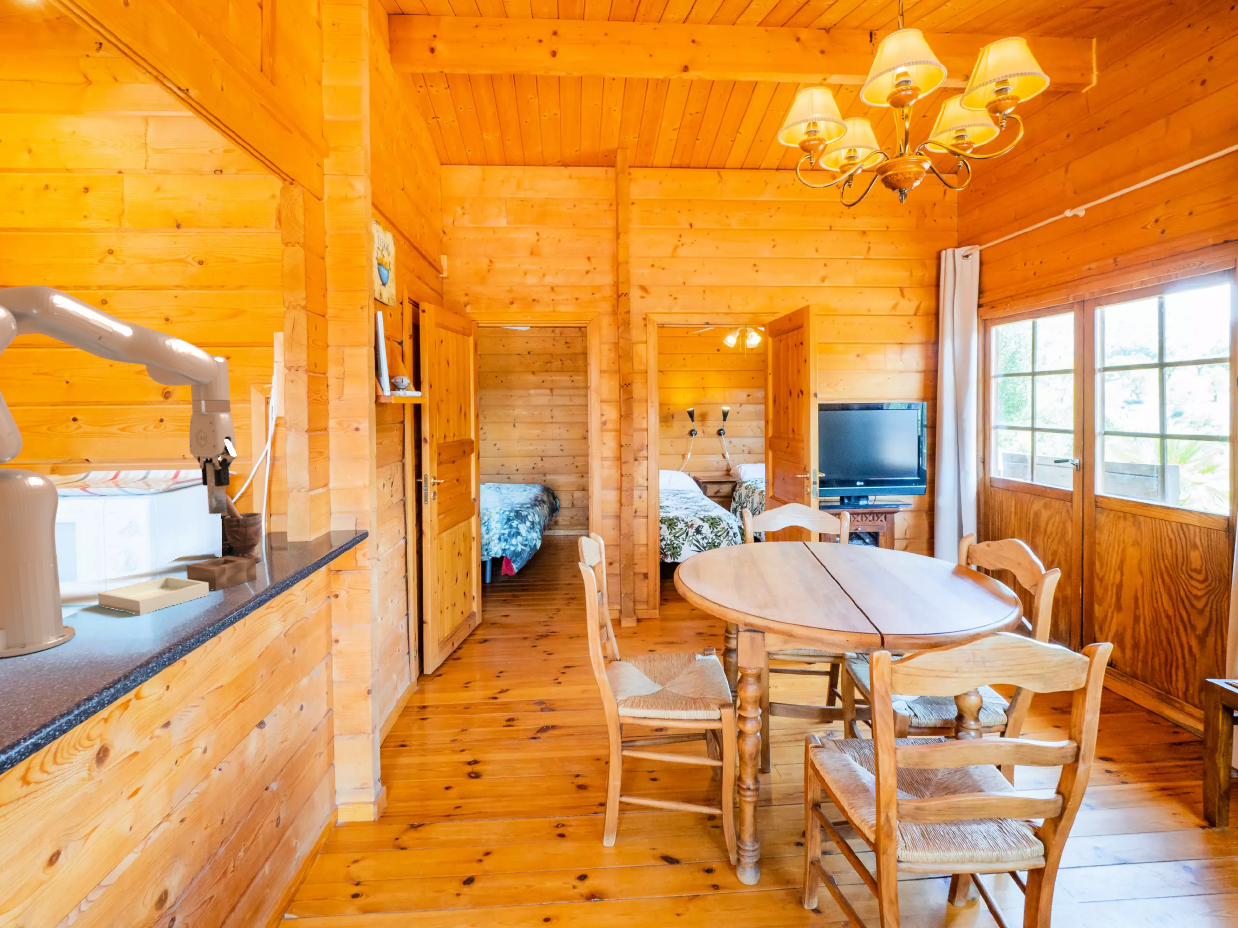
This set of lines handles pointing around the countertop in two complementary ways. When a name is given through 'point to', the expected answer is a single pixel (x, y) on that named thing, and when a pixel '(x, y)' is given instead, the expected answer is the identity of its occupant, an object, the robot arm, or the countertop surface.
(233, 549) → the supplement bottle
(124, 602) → the tray
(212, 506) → the pin
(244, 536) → the mortar and pestle
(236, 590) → the countertop surface
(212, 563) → the pin block
